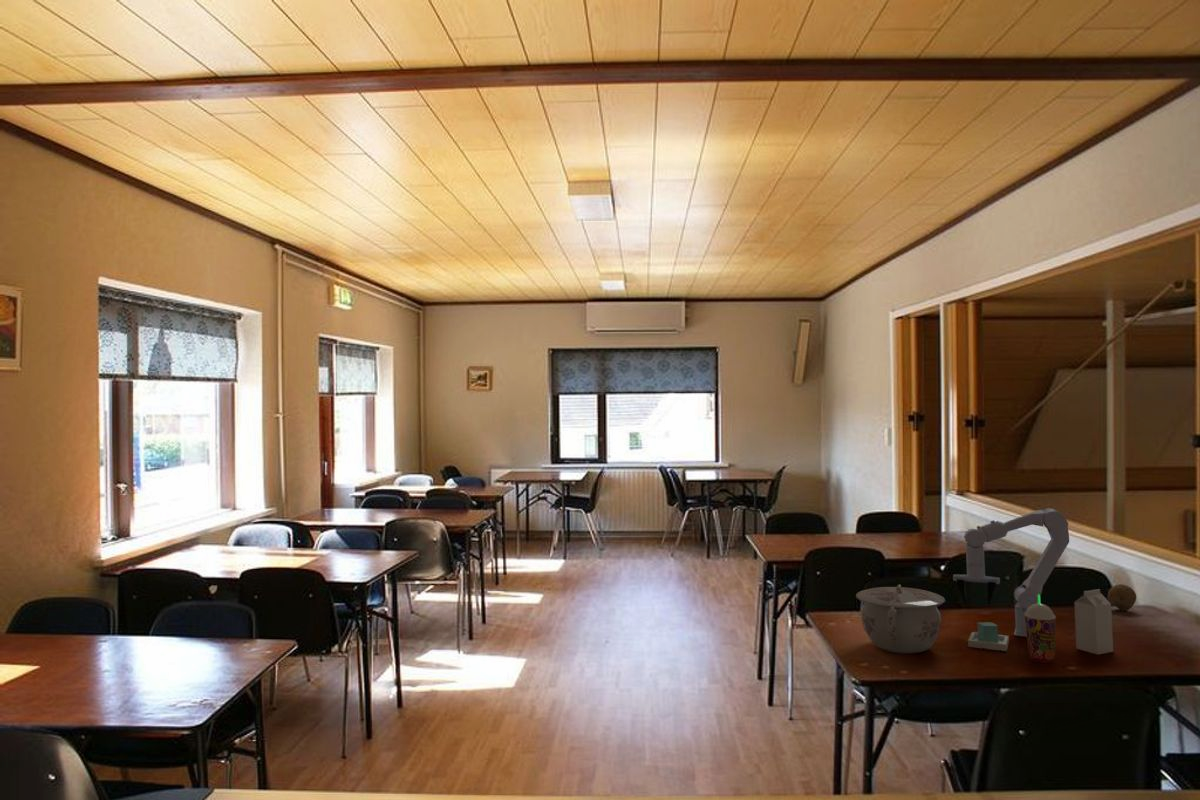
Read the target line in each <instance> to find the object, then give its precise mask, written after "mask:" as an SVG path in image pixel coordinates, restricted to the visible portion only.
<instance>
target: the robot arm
mask: <svg viewBox="0 0 1200 800" xmlns="http://www.w3.org/2000/svg"><path fill="white" fill-rule="evenodd" d="M1029 526H1038V527H1045V528H1046V529H1047V532H1048V535H1049V537H1050V540H1049V541H1048V543H1047V545H1046V547H1045V549H1044V550H1043V552H1042V554H1041V555H1040V556H1039V558H1038V560H1037V562H1036V564H1035V565H1034V567H1033V568H1032V570H1031V571H1030V574H1029V576H1028V577H1027V578H1026V579H1025V580H1024V581H1023V582H1022V584H1021V585H1019V586H1018V587H1016V588H1015V589H1014V592H1013V596H1014V599H1015V600H1016V601H1017V602H1016V604H1015V605H1014V616H1015V617H1014V619H1015V629H1014V633H1013V635H1014V636H1015V637H1026V638H1027V632H1026V623H1025V615H1024V614H1025V613H1026V611H1027V609H1028V608H1029V607H1030V606H1031V605H1033V604H1036V603H1038V595H1040V596H1041V594H1042V593H1043V587H1044V585H1045V584H1046V582H1047V580H1048V579H1049V576H1050V575H1051V574H1052V572H1053V570H1054V568H1055V566H1056V565H1057V564H1058V561H1059V560H1060V558H1061V557H1062V555H1063V553H1064V552H1065V551H1066V548H1067V547H1068V545H1069V543H1070V535H1069V533H1070V532H1069V522H1068V520H1067V518H1066V516H1065V515H1064V514H1063V513H1062V512H1060V511H1058V510H1057V509H1055V508H1051V507H1047V508H1043V509H1038V510H1033V511H1032V512H1029V513H1026V514H1023V515H1021V516H1018V517H1016V518H1013V519H1010V520H1007V521H1005V522H1002V521H999V520H996V521H995V520H993V519H992V520H991V521H990V523H987V524H985V525H981V526H980V525H977V526H976V528H969V529H968V530H967V531H965V534H964V536H963V537H964V540H965V542H966V545H965V548H966V550H965V558H966V560H965V561H966V562H965V563H966V574H953V575H952V580H953V581H954V582H956V586H957V588H958V589H959V591H960V594H961V596H962V601H963V603H967V591H966V590H967V589H966V588H967V583H966V582H970V583H983V584H984V583H985V584H987V605H988V606H989V605H991V604H992V598H993V593H994V591H995V588H996V586H997V585H1000V584H1001V580H1000V577H998V576H997V577H996V576H990V575H989V576H988V575H986V565H985V563H986V562H985V561H986V560H985V551H984V545H985V543H989V542H993V541H996V540H999V539H1002V538H1005V537H1006V536H1007V534H1008V533H1009V532H1011V531H1015V530H1018V529H1022V528H1026V527H1029Z"/></svg>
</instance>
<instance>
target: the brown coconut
mask: <svg viewBox="0 0 1200 800" xmlns="http://www.w3.org/2000/svg"><path fill="white" fill-rule="evenodd" d="M1107 600H1108V601H1109V602H1110V603H1111V606H1114V607H1116V608H1117V609H1118V610H1120V611H1121V612H1127V611H1129V610H1130V609H1132V608H1133V606H1135V603H1136V601H1137V593H1136V592H1135V590H1134V589H1133V588H1132V587H1131V586H1128V585H1126V584H1115V585H1114V586H1111V588H1109V590H1108V592H1107Z"/></svg>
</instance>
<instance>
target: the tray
mask: <svg viewBox="0 0 1200 800" xmlns="http://www.w3.org/2000/svg"><path fill="white" fill-rule="evenodd" d="M1009 636H1010V635H1004V634H998V643H995V642H986V641H978V631H977V632H976V631H971V633H970V636H969V638H968V639H967V640H968V641H967V642H968V647H969V648H973V649H974V648H976V649H977V648H978V649H983V648H984V650H992V651H1000V650H1001V651H1003V652H1007V651H1008V648H1009V647H1008V646H1009V643H1010V641H1009V640H1010V639H1009V638H1010V637H1009ZM985 648H986V649H985Z"/></svg>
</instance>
